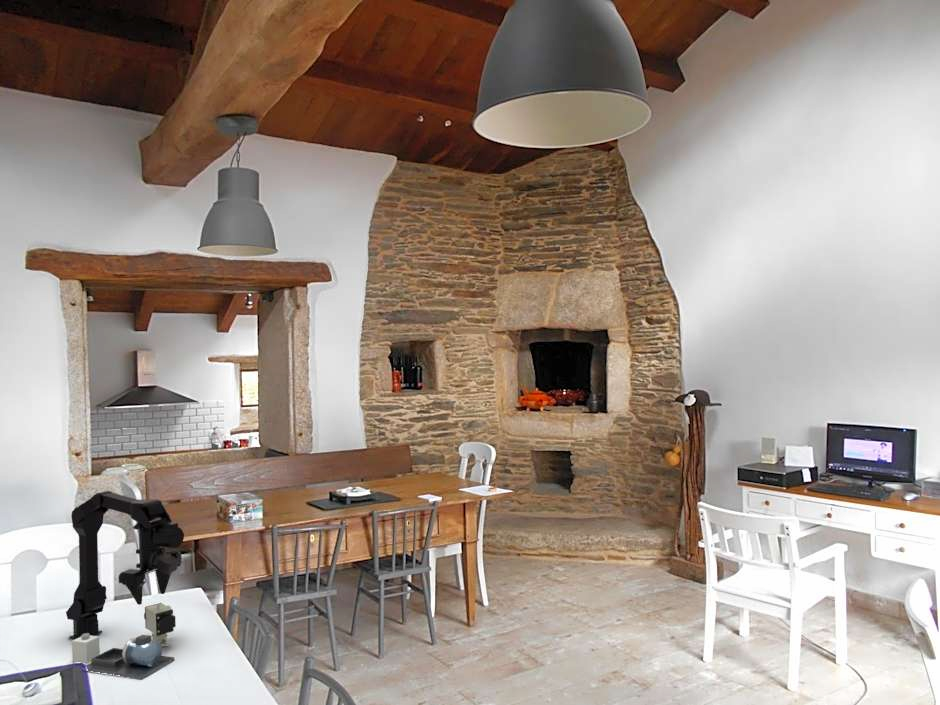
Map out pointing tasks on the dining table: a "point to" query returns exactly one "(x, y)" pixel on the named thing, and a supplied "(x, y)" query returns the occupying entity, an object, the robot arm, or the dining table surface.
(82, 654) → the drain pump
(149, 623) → the pneumatic valve
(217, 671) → the dining table surface
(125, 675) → the motor mount
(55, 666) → the dining table surface
